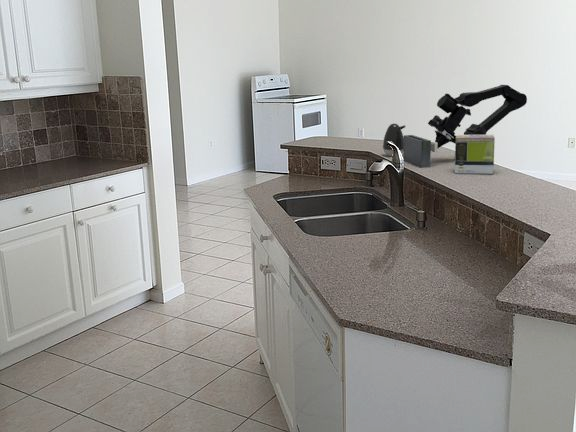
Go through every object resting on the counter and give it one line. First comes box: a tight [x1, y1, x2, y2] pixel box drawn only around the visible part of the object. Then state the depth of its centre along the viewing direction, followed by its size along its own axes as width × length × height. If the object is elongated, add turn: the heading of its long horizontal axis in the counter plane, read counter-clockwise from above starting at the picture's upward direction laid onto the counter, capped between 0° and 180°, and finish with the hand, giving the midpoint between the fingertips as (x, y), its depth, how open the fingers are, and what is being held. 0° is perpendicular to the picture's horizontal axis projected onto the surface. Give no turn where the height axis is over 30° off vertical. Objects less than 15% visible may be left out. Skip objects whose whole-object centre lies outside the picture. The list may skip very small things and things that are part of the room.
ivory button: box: [431, 141, 438, 153], centre depth 272 cm, size 5×4×4 cm
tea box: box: [454, 134, 495, 175], centre depth 257 cm, size 15×10×15 cm, turn 74°
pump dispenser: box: [382, 123, 406, 158], centre depth 300 cm, size 10×10×15 cm
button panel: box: [402, 134, 432, 168], centre depth 279 cm, size 4×20×11 cm, turn 12°
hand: (434, 149), depth 280 cm, fingers closed
